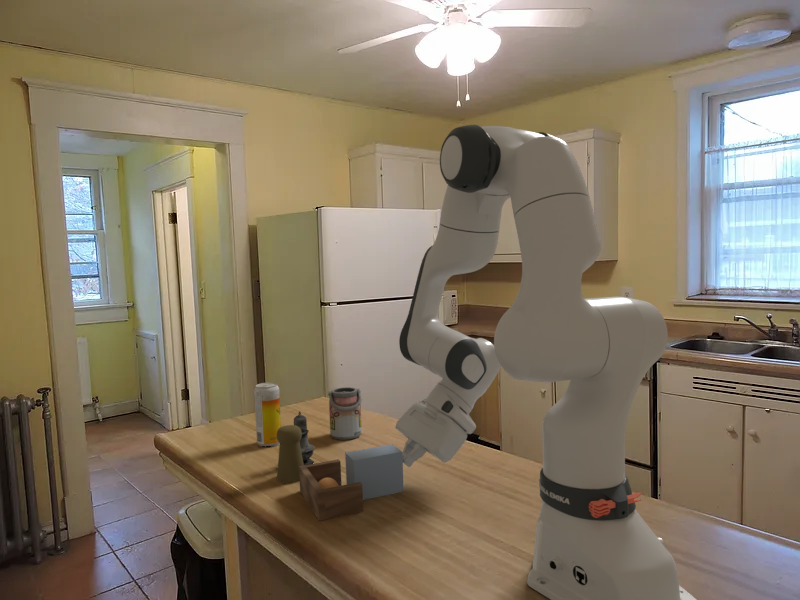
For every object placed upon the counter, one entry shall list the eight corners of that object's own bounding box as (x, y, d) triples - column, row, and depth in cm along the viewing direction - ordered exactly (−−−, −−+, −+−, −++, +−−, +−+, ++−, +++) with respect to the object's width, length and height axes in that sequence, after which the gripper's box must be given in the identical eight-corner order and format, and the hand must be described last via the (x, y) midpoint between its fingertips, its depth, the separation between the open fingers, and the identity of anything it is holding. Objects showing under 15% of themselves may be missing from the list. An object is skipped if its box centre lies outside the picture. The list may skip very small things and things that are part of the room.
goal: (363, 511, 103) (362, 484, 103) (319, 520, 100) (317, 493, 99) (339, 483, 116) (338, 459, 116) (300, 490, 113) (298, 466, 113)
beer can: (286, 441, 144) (283, 383, 143) (269, 449, 139) (266, 388, 138) (269, 438, 147) (266, 381, 146) (251, 445, 142) (248, 386, 141)
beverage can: (365, 440, 143) (363, 393, 142) (332, 443, 141) (330, 396, 140) (359, 429, 152) (358, 385, 151) (328, 432, 150) (326, 388, 149)
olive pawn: (299, 483, 117) (297, 431, 116) (272, 482, 118) (269, 430, 117) (310, 472, 122) (307, 422, 122) (283, 471, 124) (281, 422, 123)
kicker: (403, 491, 111) (402, 451, 111) (355, 501, 107) (353, 460, 107) (393, 482, 116) (392, 444, 115) (346, 492, 112) (345, 452, 111)
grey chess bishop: (303, 470, 124) (300, 416, 123) (283, 465, 127) (280, 413, 126) (320, 461, 129) (318, 409, 128) (301, 457, 132) (298, 406, 131)
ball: (314, 495, 104) (329, 510, 106) (332, 477, 106) (346, 492, 107) (308, 486, 108) (323, 501, 110) (325, 469, 110) (339, 484, 111)
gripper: (414, 388, 125) (374, 439, 122) (459, 410, 106) (414, 470, 103) (432, 406, 127) (394, 456, 124) (481, 430, 109) (436, 489, 105)
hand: (403, 463), depth 114 cm, fingers closed
